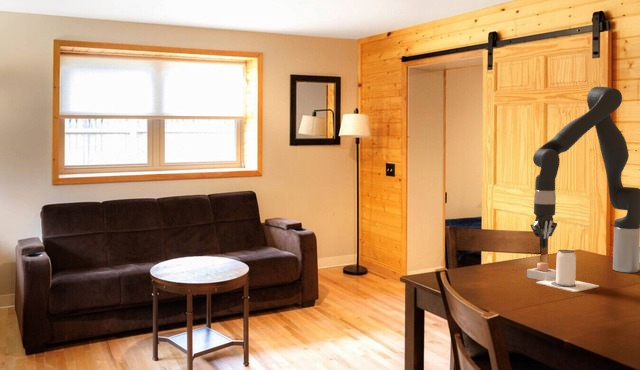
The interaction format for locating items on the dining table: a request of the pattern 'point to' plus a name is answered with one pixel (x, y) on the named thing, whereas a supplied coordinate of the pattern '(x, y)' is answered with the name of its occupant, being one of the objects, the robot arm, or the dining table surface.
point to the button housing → (541, 274)
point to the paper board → (576, 288)
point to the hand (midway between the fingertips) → (543, 248)
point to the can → (566, 268)
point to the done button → (542, 267)
